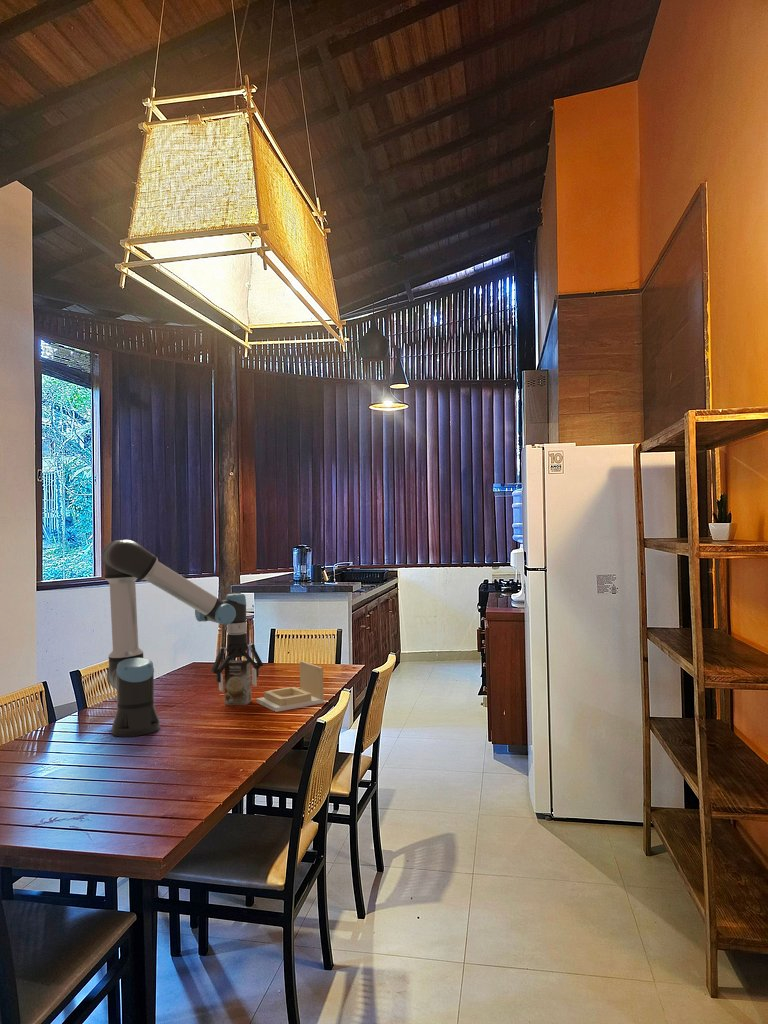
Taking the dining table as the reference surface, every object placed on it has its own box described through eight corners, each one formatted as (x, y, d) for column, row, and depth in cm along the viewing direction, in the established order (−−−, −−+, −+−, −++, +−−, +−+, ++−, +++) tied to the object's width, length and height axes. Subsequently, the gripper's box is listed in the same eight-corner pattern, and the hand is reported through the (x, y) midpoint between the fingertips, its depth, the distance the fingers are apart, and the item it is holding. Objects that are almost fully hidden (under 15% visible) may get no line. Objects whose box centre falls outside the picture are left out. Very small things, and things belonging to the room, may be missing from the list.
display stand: (275, 712, 238) (274, 675, 239) (256, 702, 253) (255, 667, 254) (323, 703, 249) (322, 667, 250) (303, 694, 264) (302, 660, 265)
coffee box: (224, 705, 251) (223, 663, 251) (229, 700, 257) (228, 660, 258) (247, 705, 250) (246, 663, 250) (252, 700, 256) (251, 659, 257)
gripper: (208, 637, 244) (209, 694, 244) (270, 631, 258) (271, 684, 257) (202, 635, 251) (203, 691, 250) (262, 629, 264) (264, 681, 264)
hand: (238, 688), depth 254 cm, fingers open, 13 cm apart
